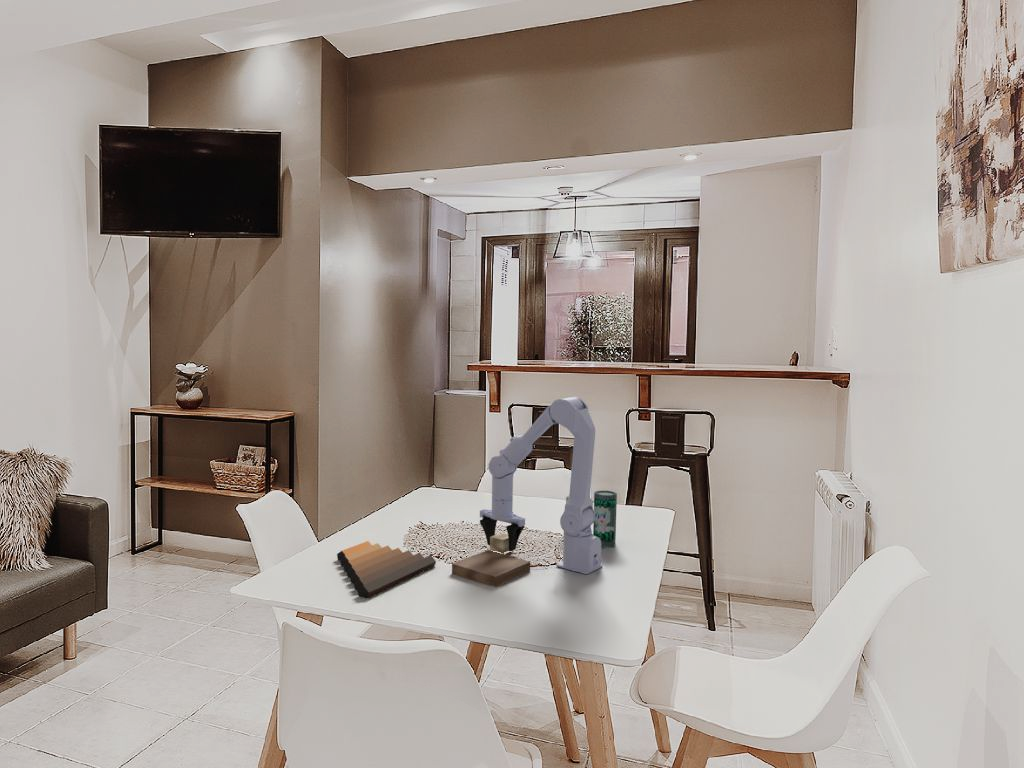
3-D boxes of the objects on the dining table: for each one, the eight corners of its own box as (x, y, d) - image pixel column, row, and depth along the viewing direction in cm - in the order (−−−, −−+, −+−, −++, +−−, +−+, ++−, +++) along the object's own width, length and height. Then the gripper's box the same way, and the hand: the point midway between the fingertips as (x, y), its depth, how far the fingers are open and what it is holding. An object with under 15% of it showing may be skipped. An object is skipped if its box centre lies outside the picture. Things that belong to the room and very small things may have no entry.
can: (590, 545, 191) (591, 493, 190) (597, 539, 197) (599, 489, 196) (610, 548, 188) (612, 496, 187) (617, 543, 194) (619, 492, 193)
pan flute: (368, 601, 150) (436, 569, 171) (368, 586, 150) (436, 556, 171) (291, 579, 162) (363, 551, 184) (291, 565, 162) (363, 539, 184)
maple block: (512, 552, 184) (513, 536, 184) (502, 556, 181) (502, 540, 180) (500, 548, 187) (500, 533, 187) (489, 552, 184) (490, 536, 183)
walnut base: (530, 571, 169) (530, 561, 169) (495, 587, 158) (495, 576, 158) (487, 559, 178) (488, 550, 178) (451, 573, 167) (452, 563, 167)
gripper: (532, 500, 182) (531, 549, 183) (491, 491, 190) (490, 538, 191) (516, 505, 176) (515, 555, 177) (475, 496, 185) (474, 544, 186)
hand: (501, 547), depth 184 cm, fingers open, 7 cm apart
